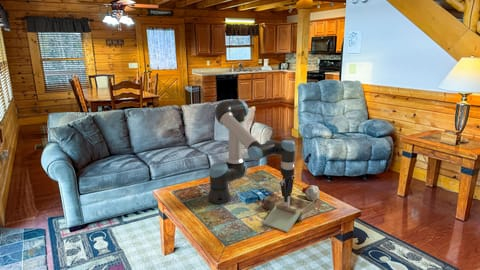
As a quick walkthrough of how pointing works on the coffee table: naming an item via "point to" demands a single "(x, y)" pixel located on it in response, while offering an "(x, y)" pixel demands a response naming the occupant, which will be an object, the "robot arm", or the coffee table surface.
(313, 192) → the candle
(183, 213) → the coffee table surface
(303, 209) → the box
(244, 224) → the coffee table surface
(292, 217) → the lid
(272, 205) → the walnut block
